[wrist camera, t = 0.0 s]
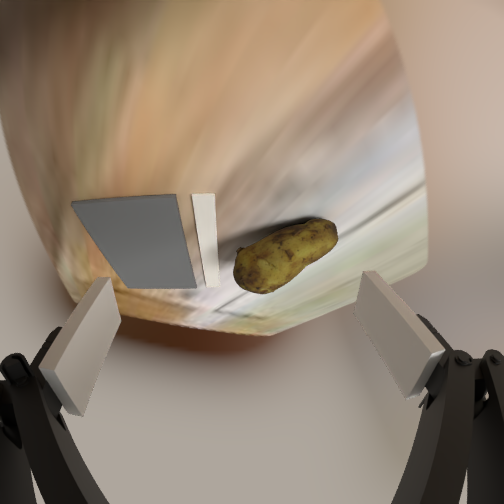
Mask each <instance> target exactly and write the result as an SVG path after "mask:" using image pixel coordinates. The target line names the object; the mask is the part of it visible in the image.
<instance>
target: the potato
mask: <svg viewBox="0 0 504 504" xmlns="http://www.w3.org/2000/svg"><path fill="white" fill-rule="evenodd" d="M337 242H338V235H337V229H336V226H335V224H334V223H333V222H331V221H329V220H326V219H312V220H309V221H308V222H307V223H305V224H299V225H294V226H290V227H285V228H283V229H281V230H278V231H276V232H274V233H272V234H270V235H269V236H267V237H265V238H264V239H262V240H260V241H258V242H256V243H255V244H253V245H250V246H248V247H246V248H239V249H238V250H237V251H236V252H237V257H236V259H235V266H234V270H233V275H234V279H235V281H236V283H237V284H238V285H239V286H240V287H241V288H242V289H244V290H247V291H250V292H253V293H257V294H267V293H270V292H274V291H275V290H276V289H278V288H280V287H282V286H283V285H285V284H287V283H288V282H290V281H291V280H292V279H293V278H294V277H295V276H297V275H298V274H299V273H300V272H301V271H302V270H303V269H304V268H305V267H306V266H307V265H309V264H311V263H313V262H315V261H317V260H318V259H320V258H321V257H323V256H324V255H326V254H327V253H328V252H330V251H331V250H332V249H333V247H334V246H335V245H336V244H337Z"/></svg>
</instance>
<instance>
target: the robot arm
mask: <svg viewBox="0 0 504 504" xmlns="http://www.w3.org/2000/svg"><path fill="white" fill-rule="evenodd" d="M353 314H354V315H355V317H356V318H357V320H358V322H359V323H360V325H361V326H362V328H363V329H364V331H365V333H366V334H367V336H368V337H369V339H370V341H371V342H372V344H373V345H374V347H375V349H376V350H377V352H378V353H379V355H380V357H381V358H382V360H383V362H384V363H385V365H386V367H387V368H388V370H389V372H390V373H391V375H392V377H393V379H394V380H395V382H396V384H397V385H398V387H399V389H400V391H401V392H402V394H403V396H404V397H405V399H406V400H407V399H410V398H413V397H416V396H419V395H420V393H421V392H422V390H423V389H424V387H426V388H427V390H428V393H427V394H426V396H425V397H424V399H423V400H422V402H421V403H420V405H419V408H421V406H422V405H423V404H424V405H423V409H422V414H421V418H420V422H419V426H418V429H417V433H416V437H415V440H414V443H413V447H412V450H411V453H410V456H409V459H408V462H407V465H406V468H405V471H404V474H403V476H402V479H401V482H400V484H399V486H398V489H397V491H396V494H395V496H394V498H393V501H392V503H391V504H459V500H460V496H461V492H462V488H463V484H464V480H465V475H466V470H467V482H468V485H467V487H468V488H467V504H504V356H503V355H502V354H501V353H500V352H499V351H497V350H493V349H491V350H488V351H486V353H485V354H484V356H483V358H482V359H473V358H472V357H471V356H470V355H469V354H468V353H466V352H464V351H462V350H453V349H452V348H451V347H450V345H449V344H448V343H447V342H446V341H445V339H444V338H443V337H442V336H441V335H440V334H439V333H437V330H436V329H435V328H433V326H432V325H431V324H430V323H429V321H428V320H427V319H425V318H424V317H422V316H420V315H419V314H415V313H414V312H413V311H412V310H411V309H410V308H409V307H408V305H407V304H406V303H405V302H404V301H403V300H402V299H401V298H400V297H399V296H398V295H397V293H396V292H395V291H394V290H393V289H392V288H391V287H390V286H389V285H388V284H387V283H386V282H385V281H384V280H383V278H382V277H381V276H380V275H379V274H378V273H377V272H376V271H363V274H362V278H361V283H360V288H359V292H358V296H357V301H356V305H355V309H354V313H353ZM120 322H121V318H120V314H119V311H118V307H117V303H116V299H115V295H114V291H113V287H112V282H111V278H110V277H97V279H96V280H95V281H94V283H93V284H92V285H91V287H90V288H89V290H88V291H87V292H86V294H85V295H84V297H83V298H82V299H81V301H80V302H79V304H78V305H77V307H76V308H75V309H74V311H73V312H72V314H71V315H70V317H69V318H68V320H67V321H66V323H65V324H64V326H63V327H57V328H56V329H55V330H54V331H52V332H51V333H50V334H49V336H48V338H47V339H46V342H44V344H43V345H42V348H41V349H40V350H39V352H38V353H37V355H36V356H35V358H34V360H33V362H32V363H31V365H29V364H28V362H27V360H26V358H25V357H24V355H22V354H21V353H14V354H10V355H9V356H7V357H6V358H5V359H4V360H3V361H2V362H1V364H0V372H1V373H2V375H3V376H4V378H5V379H6V380H0V504H37V503H36V498H35V493H34V488H33V482H32V476H31V470H32V473H33V475H34V478H35V481H36V483H37V486H38V488H39V490H40V493H41V495H42V497H43V499H44V502H45V504H109V502H108V501H107V499H106V498H105V496H104V495H103V493H102V492H101V490H100V489H99V487H98V485H97V484H96V482H95V480H94V479H93V477H92V475H91V473H90V472H89V470H88V468H87V466H86V464H85V463H84V461H83V459H82V457H81V455H80V453H79V451H78V449H77V447H76V445H75V443H74V441H73V439H72V436H71V434H70V432H69V430H68V428H67V425H66V423H65V421H64V418H63V416H62V414H61V413H60V409H61V407H62V405H63V407H64V408H65V409H66V411H67V412H68V413H69V414H73V415H78V416H82V417H83V416H84V413H85V410H86V407H87V404H88V401H89V398H90V396H91V393H92V391H93V388H94V385H95V382H96V380H97V377H98V375H99V372H100V370H101V367H102V365H103V362H104V359H105V357H106V355H107V352H108V350H109V348H110V345H111V343H112V340H113V338H114V336H115V334H116V331H117V329H118V327H119V324H120ZM487 392H488V394H489V398H488V399H487V400H486V398H485V395H486V393H487ZM30 468H31V469H30Z"/></svg>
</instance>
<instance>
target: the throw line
mask: <svg viewBox="0 0 504 504" xmlns="http://www.w3.org/2000/svg"><path fill="white" fill-rule="evenodd" d="M192 199H193V207H194V213H195V220H196V227H197V233H198V240H199V246H200V252H201V258H202V264H203V269H204V275H205V281H206V286H207V287H220V277H219V262H218V246H217V229H216V210H215V193H197V194H192Z"/></svg>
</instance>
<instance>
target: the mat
mask: <svg viewBox="0 0 504 504" xmlns="http://www.w3.org/2000/svg"><path fill="white" fill-rule="evenodd" d="M71 206H72V207H73V209H74V211H75V212H76V214H77V216H78V217H79V219H80V220H81V222H82V224H83V225H84V227H85V228H86V230H87V231H88V233H89V234H90V236H91V237H92V239H93V240H94V242H95V243H96V245H97V246H98V248H99V249H100V251H101V252H102V254H103V255H104V256H105V258H106V259H107V261H108V262H109V263H110V265H111V266H112V268H113V269H114V270H115V272H116V273H117V274H118V276H119V277H120V278H121V280H122V281H123V282H124V284H125V285H126V286H127V288H138V289H187V288H197V285H196V281H195V277H194V273H193V269H192V265H191V261H190V257H189V253H188V249H187V244H186V240H185V236H184V231H183V227H182V222H181V218H180V213H179V208H178V204H177V199H176V194H169V195H149V196H133V197H119V198H106V199H95V200H84V201H74V202H72V204H71Z"/></svg>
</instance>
